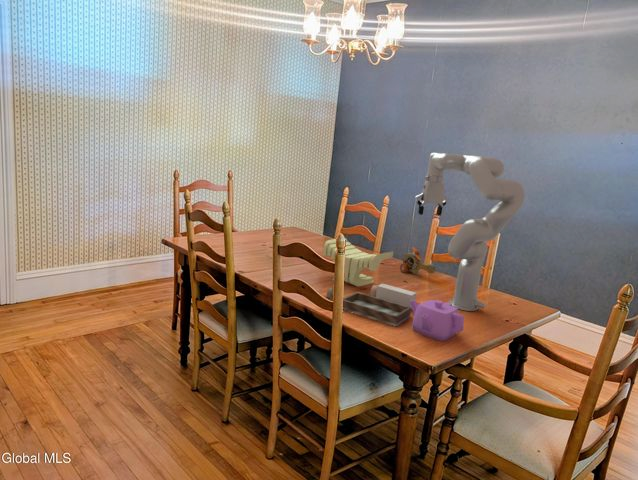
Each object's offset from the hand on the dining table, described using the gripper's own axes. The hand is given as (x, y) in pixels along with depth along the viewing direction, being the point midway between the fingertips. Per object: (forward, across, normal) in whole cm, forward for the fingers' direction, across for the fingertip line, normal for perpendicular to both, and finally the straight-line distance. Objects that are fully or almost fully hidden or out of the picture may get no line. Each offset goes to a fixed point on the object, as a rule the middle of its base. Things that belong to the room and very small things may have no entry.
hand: (429, 214), depth 231 cm
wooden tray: (+36, -39, -35) cm, 63 cm away
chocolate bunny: (+36, -51, -18) cm, 65 cm away
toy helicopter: (+36, +6, +16) cm, 40 cm away
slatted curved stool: (+36, -33, +5) cm, 49 cm away
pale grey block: (+36, -27, -25) cm, 51 cm away
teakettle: (+36, -23, -55) cm, 70 cm away
